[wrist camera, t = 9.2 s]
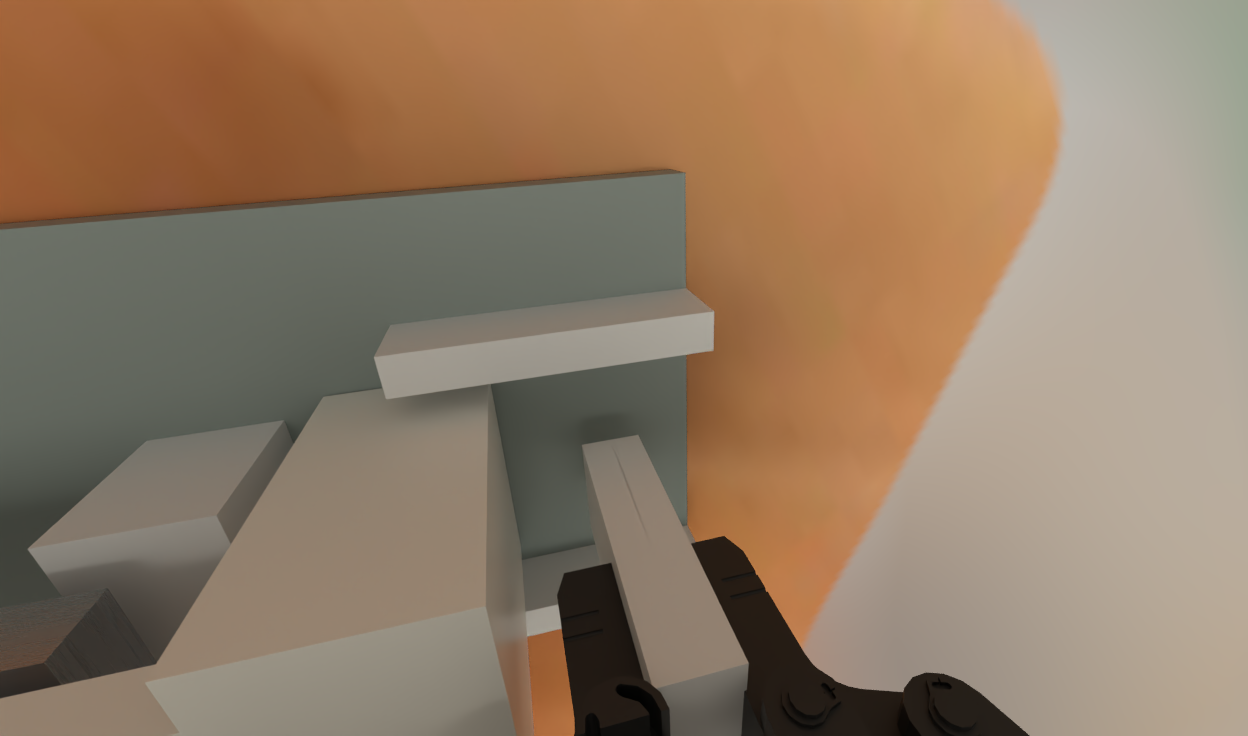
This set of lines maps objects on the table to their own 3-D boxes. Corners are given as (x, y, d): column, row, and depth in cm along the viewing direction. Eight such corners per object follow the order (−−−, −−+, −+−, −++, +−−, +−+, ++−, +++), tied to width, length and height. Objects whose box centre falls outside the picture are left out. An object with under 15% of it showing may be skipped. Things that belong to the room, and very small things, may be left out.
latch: (195, 613, 15) (-53, 1020, 8) (88, 430, 12) (-413, 807, 5) (520, 546, 16) (541, 837, 10) (488, 372, 14) (486, 606, 7)
